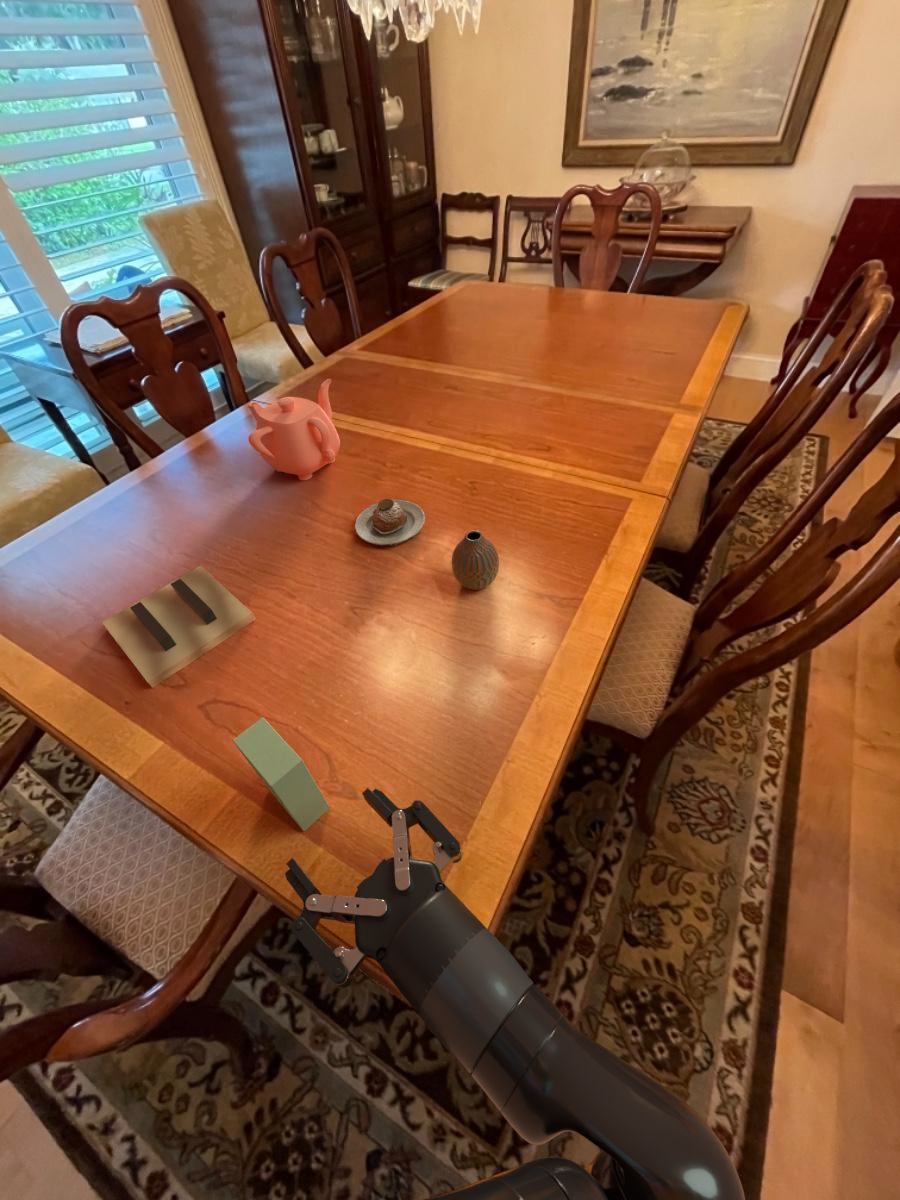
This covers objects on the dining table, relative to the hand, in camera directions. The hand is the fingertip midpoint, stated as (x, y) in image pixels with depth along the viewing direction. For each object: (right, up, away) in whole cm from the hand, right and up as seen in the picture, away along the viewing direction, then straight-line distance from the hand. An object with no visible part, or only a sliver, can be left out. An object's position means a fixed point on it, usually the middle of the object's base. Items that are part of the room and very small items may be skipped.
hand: (330, 827), depth 49 cm
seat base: (-29, +17, +30) cm, 45 cm away
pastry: (+1, +33, +43) cm, 54 cm away
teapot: (-18, +49, +60) cm, 79 cm away
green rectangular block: (-6, -1, +10) cm, 12 cm away
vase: (+15, +24, +32) cm, 42 cm away
